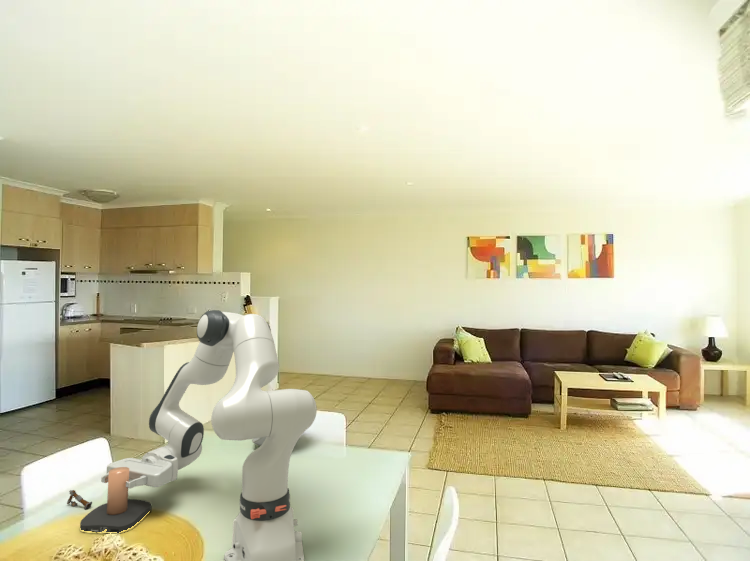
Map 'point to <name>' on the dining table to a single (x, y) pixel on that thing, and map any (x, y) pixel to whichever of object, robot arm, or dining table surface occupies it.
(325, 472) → the dining table surface
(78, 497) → the brown grey jointed tubes
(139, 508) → the media streaming box
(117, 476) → the salmon orange cylinder
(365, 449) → the dining table surface
